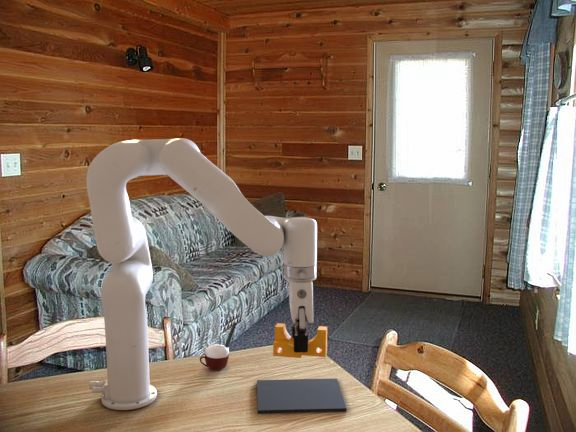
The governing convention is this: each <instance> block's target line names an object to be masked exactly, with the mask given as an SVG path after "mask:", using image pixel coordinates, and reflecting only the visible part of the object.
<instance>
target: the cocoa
mask: <svg viewBox="0 0 576 432" xmlns="http://www.w3.org/2000/svg"><path fill="white" fill-rule="evenodd" d="M237 324H238V322H237V321H236V320H234V321H233V322H232V327H231V328H230V332H229V333H228V336H227V339H226V341H225V343H224V345H223V344H220V343H219V344H218V343H214V344H212V345H209V346H207V347H205V348H204V355H202V356H200V357H199V362H200V363H201V364H202V365H203V366H204V367H207V368H209V369H210V370H213V371H220V370H223V369H224V368H226V367H227V365H228V362H229V358H230V357H229V356H230V349H229V345H230V343H231V340H232V337H233V335H234V332H235V329H236V327H237ZM202 359H204V362H205V363H204V362H203V361H202Z"/></svg>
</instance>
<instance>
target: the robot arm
mask: <svg viewBox="0 0 576 432" xmlns="http://www.w3.org/2000/svg"><path fill="white" fill-rule="evenodd" d="M141 176H168V177H169V178H170V179H171V180H173V181H174V182H175V183H176V184H178V185H179V186H180V187H181V188H182V189H183V190H184V191H186V192H187V193H188V194H190V195H191V196H192V197H193V198H194V199H196V201H198V202H199V203H200V204H202V205H203V207H205V209H207V210H208V211H209V212H210V214H211V215H213V217H215V218H216V219H217V220H218V221H219V222H220V223H221V224H222V225H223V226H224V227H225V228H226V229H227V230H228V231H229V232H230V233H231V234H232V235H233V236H234V237H236V238H237V239H238V240H239V241H240V242H242V243H243V244H244V245H245V246H246V247H248V248H249V249H250V250H252V252H255V253H256V254H257V255H260V256H263V257H271V256H274V255H276V254H278V252H280V251H281V249H282V248H283V279H284V280H286V281H288V302H289V313H290V318H291V322H292V327H291V337H292V338H294V352H308V341H309V335H308V323H309V324H314V284H313V281H315V280H317V278H318V275H317V273H318V272H317V271H318V270H317V269H318V224H317V221H316V220H315V219H314V218H311V217H306V216H305V217H304V216H295V217H281V216H274V215H264V214H263V213H262V212H261V211H259V210H258V209H257V208H256V207H255V206H254V205H253V204H252V203H251V202H250V201H248V199H247V198H246V197H245V195H244V194H243V193H242V192H241V190H240V188H239V186H238V185H237V184H236V183H235V181H234V180H233V179H232V178H231V177H230V176H229V175H228V174H226V173H225V172H224V171H223V170H222V169H220V168H219V167H218V166H216V164H214V163H213V162H212V161H211V160H210V159H208V158H207V157H206V156H205V155H204V154H203V153H202V152H201V150H200V149H199V147H198V145H197V144H196V143H195V142H194V141H192V140H190V139H189V138H185V137H184V138H183V137H179V138H163V139H161V138H159V139H157V138H156V139H131V140H130V139H129V140H123V141H118V142H114V143H113V144H111V145H108V146H106V147H105V148H104V149H102V150H101V151H100V152H99V153H97V154H96V156H94V157H93V159H92V161H91V162H90V164H89V167H88V169H87V172H86V179H85V182H86V183H85V184H86V191H87V196H88V202H89V209H90V215H91V221H92V227H93V232H94V238H95V244H96V249H97V252H98V254H99V255H100V256H101V258H102V259H103V260H105V261H106V262H108V263H111V268H112V270H111V271H110V272H109V273H108V274H107V275H106V276H105V278H104V280H103V282H102V285H101V289H100V301H101V307H102V313H103V322H104V337H105V358H106V377H107V379H103V380H101V381H99V380H90V381H89V386H88V387H89V388H88V389H89V390H91V393H92V394H101V393H102V394H101V397H100V398H101V399H100V400H101V404H102V405H103V406H104V407H105V408H108V409H110V410H115V411H130V410H137V409H140V408H141V409H142V408H145V407H146V406H148V405H151V404H152V403H154V401H156V398H158V397H157V396H158V392H157V388H156V387H155V386H153V385H151V381H150V379H151V377H150V356H149V355H150V352H149V351H150V350H149V326H148V314H147V308H146V297H147V294H148V292H149V290H150V289H151V288H152V284H153V282H154V271H153V264H152V259H151V253H150V248H149V241H148V236H147V232H146V229H145V228H144V225H143V223H142V222H141V221H140V220H139V219H138V218H136V217H135V216H133V215H132V210H131V202H130V199H129V195H128V192H127V183H128V182H129V181H131V180H133V179H136V178H139V177H141Z"/></svg>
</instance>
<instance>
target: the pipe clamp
mask: <svg viewBox="0 0 576 432" xmlns="http://www.w3.org/2000/svg"><path fill="white" fill-rule="evenodd" d="M272 350H273V351H272V354H273V355H272V356H273V357H282V358H292V359H293V358H295V359H302V356H307V357H320V358H327V354H328V326H325V325H319V326H318V328H317V332H316V335H315V336H313V337H312V338H311V339H308V352H294V338H292V335H290V334H289V332H288V330H287V327H286V323H283V322H281V323H280V322H276V324H275V325H274V341H273V342H272Z"/></svg>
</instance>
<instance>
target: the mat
mask: <svg viewBox="0 0 576 432" xmlns="http://www.w3.org/2000/svg"><path fill="white" fill-rule="evenodd" d="M256 394H257V395H256V399H257V401H256V402H257V403H256V404H257V414H262V415H263V414H264V415H265V414H298V413H299V414H301V413H302V414H303V413H339V412H340V413H343V412H345V413H346V412H347V411H348V409H347V405H346V403H345V398H344V396H343V393H342V390H341V386H340V383H339V379H338V378H337V377H336V378H297V379H296V378H295V379H257V380H256Z"/></svg>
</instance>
